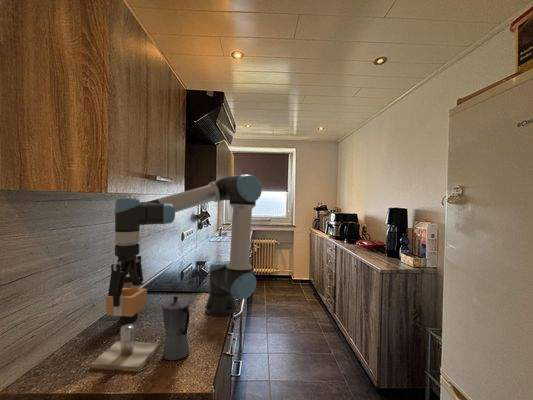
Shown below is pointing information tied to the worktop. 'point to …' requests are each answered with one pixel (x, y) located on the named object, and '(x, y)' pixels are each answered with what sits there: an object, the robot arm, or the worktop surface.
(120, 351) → the post stand
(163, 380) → the worktop surface
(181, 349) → the moka pot
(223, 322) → the worktop surface
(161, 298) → the worktop surface
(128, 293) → the open wooden box
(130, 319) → the travel mug
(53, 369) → the worktop surface
